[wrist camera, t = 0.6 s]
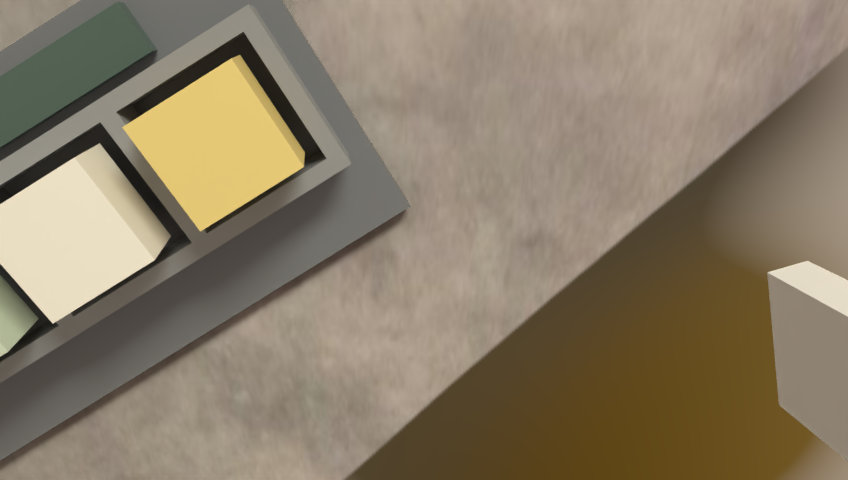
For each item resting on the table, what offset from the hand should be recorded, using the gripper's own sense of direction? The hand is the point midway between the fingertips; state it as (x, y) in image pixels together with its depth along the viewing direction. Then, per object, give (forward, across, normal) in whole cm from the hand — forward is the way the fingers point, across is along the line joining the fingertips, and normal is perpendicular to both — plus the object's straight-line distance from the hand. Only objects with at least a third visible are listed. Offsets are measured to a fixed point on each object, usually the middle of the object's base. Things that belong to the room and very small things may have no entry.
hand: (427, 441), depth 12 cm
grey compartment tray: (+26, -15, 0) cm, 30 cm away
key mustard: (+22, -5, +3) cm, 23 cm away
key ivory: (+22, -12, +1) cm, 25 cm away
